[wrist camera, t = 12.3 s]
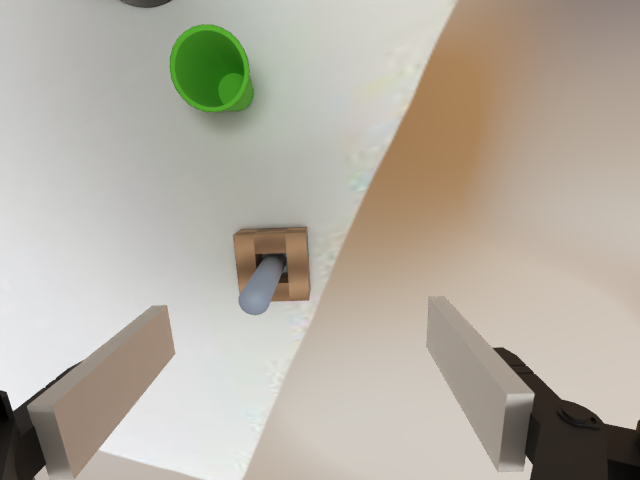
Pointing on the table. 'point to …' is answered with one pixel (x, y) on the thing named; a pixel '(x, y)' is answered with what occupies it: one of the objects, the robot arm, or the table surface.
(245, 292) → the blue-grey rounded rod
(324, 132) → the table surface
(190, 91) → the cup
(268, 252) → the wooden socket block
